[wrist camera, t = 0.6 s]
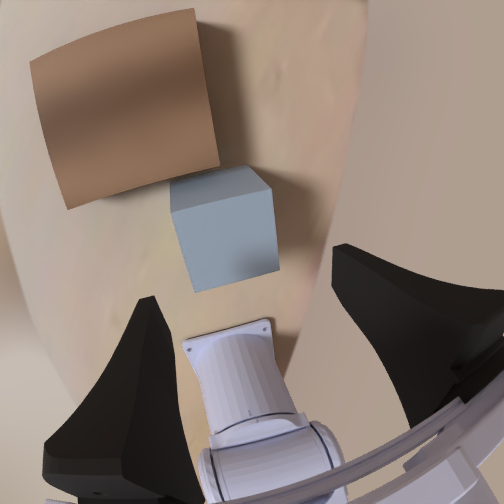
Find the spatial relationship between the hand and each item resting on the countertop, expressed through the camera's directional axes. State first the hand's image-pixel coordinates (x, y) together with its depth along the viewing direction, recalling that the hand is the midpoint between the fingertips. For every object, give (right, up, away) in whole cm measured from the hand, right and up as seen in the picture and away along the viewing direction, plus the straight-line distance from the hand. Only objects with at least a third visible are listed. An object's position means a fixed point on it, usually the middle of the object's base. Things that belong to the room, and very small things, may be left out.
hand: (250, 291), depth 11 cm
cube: (-2, +4, +8) cm, 10 cm away
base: (-7, +10, +3) cm, 13 cm away
